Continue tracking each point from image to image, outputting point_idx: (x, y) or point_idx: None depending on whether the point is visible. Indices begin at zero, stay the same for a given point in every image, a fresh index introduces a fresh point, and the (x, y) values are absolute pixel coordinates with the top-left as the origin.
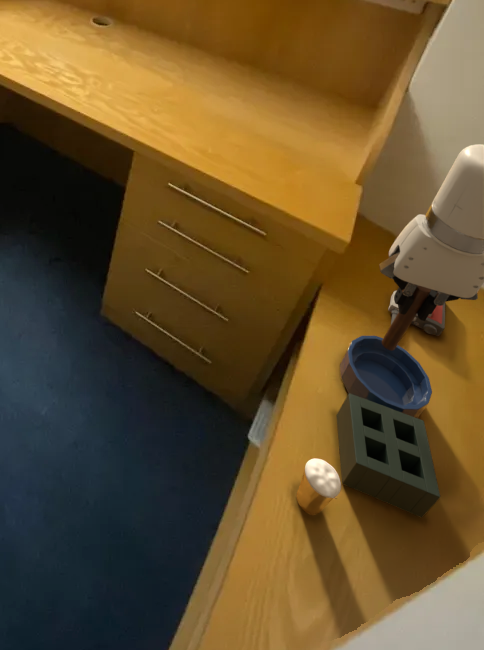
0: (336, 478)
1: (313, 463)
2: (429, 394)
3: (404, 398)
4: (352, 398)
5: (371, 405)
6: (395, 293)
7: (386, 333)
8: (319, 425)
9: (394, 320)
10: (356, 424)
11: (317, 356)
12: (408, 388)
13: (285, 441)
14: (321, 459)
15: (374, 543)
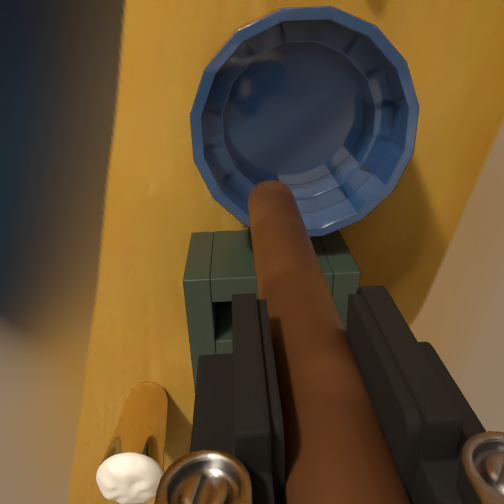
0: (150, 486)
1: (105, 480)
2: (403, 163)
3: (352, 126)
4: (191, 291)
5: (237, 289)
6: (198, 369)
7: (251, 218)
8: (158, 269)
9: (255, 272)
10: (199, 346)
11: (139, 91)
12: (366, 101)
13: (97, 326)
14: (123, 458)
15: None
